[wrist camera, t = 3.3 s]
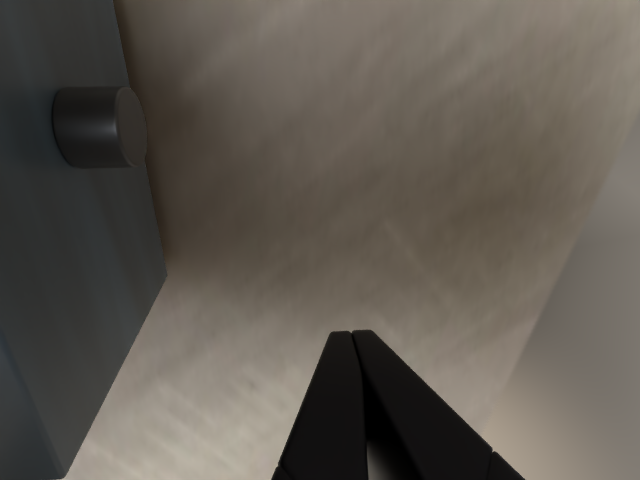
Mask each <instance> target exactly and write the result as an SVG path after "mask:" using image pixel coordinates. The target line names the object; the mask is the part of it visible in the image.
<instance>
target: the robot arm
mask: <svg viewBox="0 0 640 480" xmlns="http://www.w3.org/2000/svg"><path fill="white" fill-rule="evenodd" d="M271 480H525V479H524V478H523V477H522V476H521V475H520V474H519V473H518V472H517V471H515V470H514V469H513V468H512V467H511V466H510V465H509V464H508V463H507V462H506V461H505V460H504V459H503V458H502V457H501V456H500V455H499V454H498V453H497V452H495V451H494V452H492V447H491V446H490V445H489V444H488V443H487V442H486V441H485V440H484V439H483V438H482V437H481V436H480V435H478V434H477V433H476V432H475V431H474V430H473V429H472V428H471V427H470V426H469V425H468V424H467V423H466V422H465V421H464V420H463V419H462V418H461V417H460V416H459V415H458V414H457V413H456V412H455V411H454V410H453V409H452V408H451V407H450V406H449V405H448V404H447V403H446V402H445V401H444V400H443V399H442V398H441V397H440V396H439V395H438V394H437V393H436V392H435V391H434V390H433V389H432V388H430V387H429V386H428V385H427V384H426V383H425V382H424V381H423V380H422V379H421V378H420V377H419V376H418V375H417V374H416V373H415V372H414V371H413V370H412V369H411V368H410V367H409V366H408V365H407V364H406V363H405V362H404V361H403V360H402V359H401V358H400V357H399V356H398V355H397V354H396V353H395V352H394V351H393V350H392V349H391V348H390V347H389V346H388V345H387V344H386V343H385V342H384V341H382V340H381V339H380V338H379V337H378V336H377V335H376V334H375V333H374V332H373V331H372V330H354V331H352V333H350V332H349V331H333V332H331V333H330V334H329V337H328V339H327V342H326V344H325V347H324V349H323V352H322V354H321V357H320V359H319V362H318V364H317V367H316V369H315V372H314V374H313V377H312V379H311V382H310V384H309V387H308V389H307V392H306V394H305V397H304V399H303V402H302V404H301V407H300V409H299V412H298V414H297V417H296V419H295V422H294V424H293V427H292V429H291V432H290V435H289V437H288V440H287V442H286V445H285V447H284V450H283V452H282V455H281V457H280V460H279V462H278V467H276V469H275V471H274V474H273V476H272V479H271Z"/></svg>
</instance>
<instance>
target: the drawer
mask: <svg viewBox="0 0 640 480" xmlns="http://www.w3.org/2000/svg"><path fill="white" fill-rule="evenodd" d="M146 150H147V129H146V122H145V117H144V113H143V110H142V107H141V104H140V102H139V100H138V98H137V96H136V94H135V93H134V92H133V90H132V89H130V85H129V80H128V75H127V70H126V65H125V60H124V55H123V50H122V45H121V40H120V35H119V30H118V25H117V20H116V15H115V10H114V4H113V0H0V480H56V479H63V478H64V477H65V476H66V475H67V473H68V471H69V469H70V467H71V465H72V463H73V461H74V459H75V457H76V455H77V453H78V451H79V449H80V447H81V445H82V443H83V441H84V439H85V437H86V435H87V433H88V431H89V429H90V427H91V425H92V423H93V421H94V419H95V417H96V416H97V414H98V412H99V410H100V408H101V406H102V404H103V402H104V400H105V398H106V396H107V394H108V392H109V390H110V388H111V386H112V384H113V382H114V380H115V378H116V376H117V374H118V372H119V370H120V368H121V366H122V364H123V362H124V360H125V358H126V357H127V355H128V353H129V351H130V349H131V347H132V345H133V343H134V341H135V339H136V337H137V335H138V333H139V331H140V329H141V327H142V325H143V323H144V321H145V319H146V317H147V315H148V313H149V311H150V309H151V307H152V305H153V303H154V301H155V299H156V297H157V296H158V294H159V292H160V290H161V288H162V286H163V284H164V282H165V280H166V278H167V270H166V265H165V260H164V255H163V250H162V245H161V240H160V235H159V230H158V225H157V220H156V215H155V210H154V205H153V200H152V195H151V190H150V185H149V180H148V175H147V170H146V165H145V160H144V159H145V156H146Z"/></svg>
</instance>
